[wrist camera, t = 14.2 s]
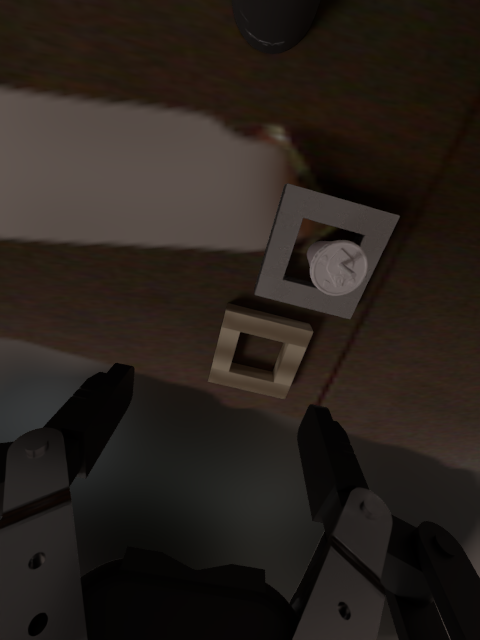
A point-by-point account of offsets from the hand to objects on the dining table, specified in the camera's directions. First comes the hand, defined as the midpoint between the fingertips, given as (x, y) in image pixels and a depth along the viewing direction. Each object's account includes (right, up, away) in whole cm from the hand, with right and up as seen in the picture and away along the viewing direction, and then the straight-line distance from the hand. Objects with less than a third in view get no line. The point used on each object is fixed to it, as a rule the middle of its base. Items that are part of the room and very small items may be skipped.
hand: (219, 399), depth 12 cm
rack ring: (+12, +13, +27) cm, 32 cm away
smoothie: (+13, +14, +27) cm, 33 cm away
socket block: (+4, -1, +34) cm, 34 cm away
